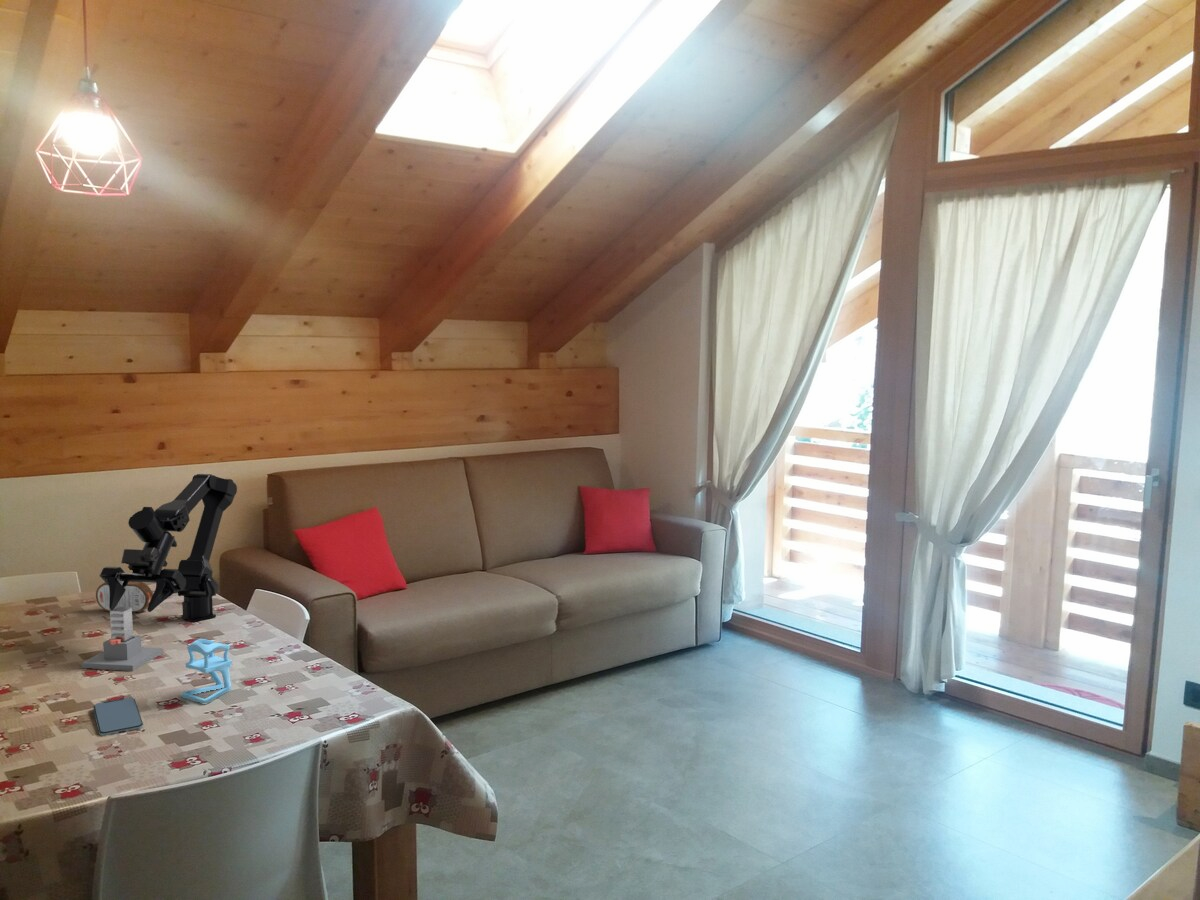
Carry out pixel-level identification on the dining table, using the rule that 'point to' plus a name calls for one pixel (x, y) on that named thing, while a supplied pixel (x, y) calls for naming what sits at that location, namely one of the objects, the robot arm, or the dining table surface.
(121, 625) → the column
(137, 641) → the base
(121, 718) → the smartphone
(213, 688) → the light blue holder stand
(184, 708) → the dining table surface
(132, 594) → the tin
